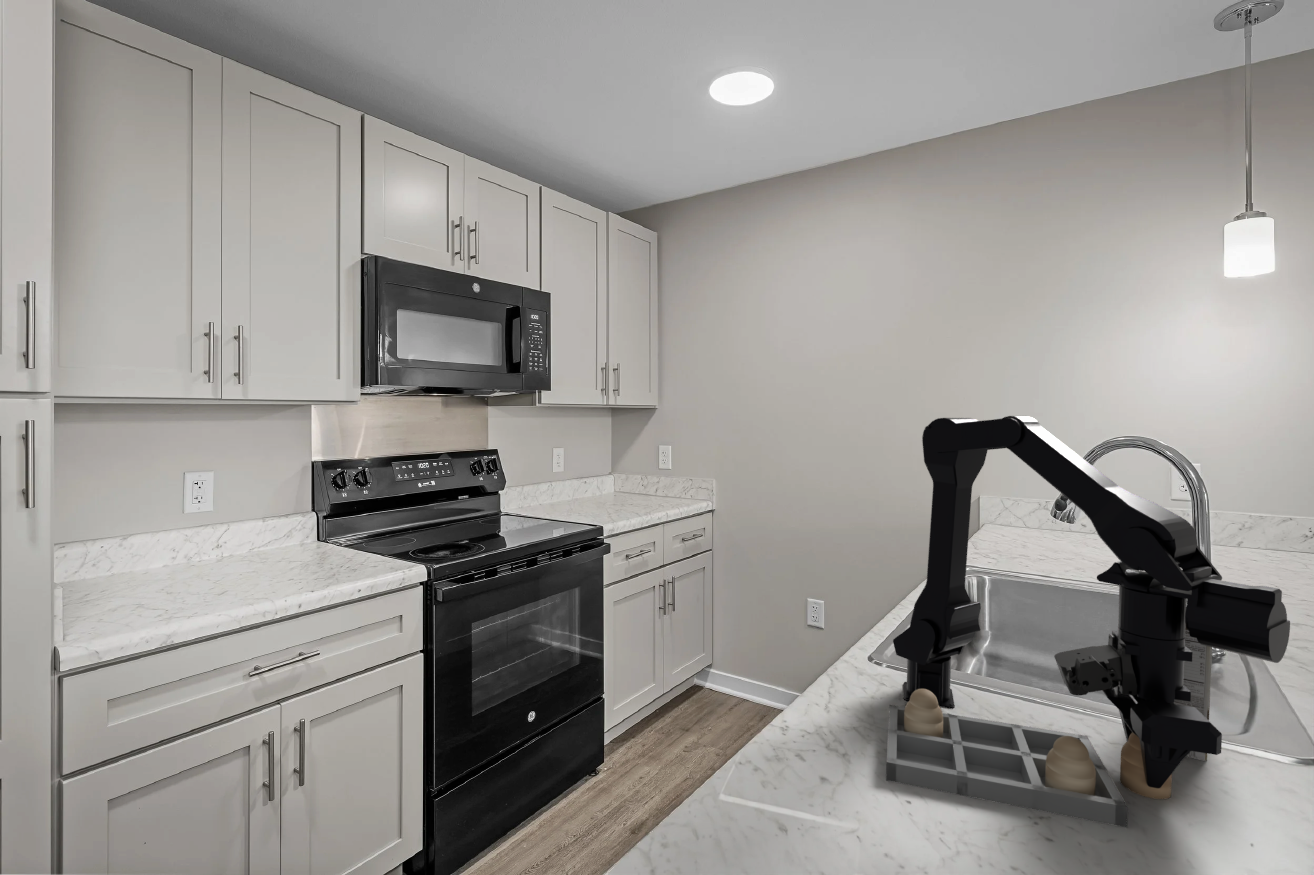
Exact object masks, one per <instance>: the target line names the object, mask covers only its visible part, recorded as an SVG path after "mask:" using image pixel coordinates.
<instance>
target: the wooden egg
mask: <svg viewBox="0 0 1314 875" xmlns="http://www.w3.org/2000/svg"><path fill="white" fill-rule="evenodd" d="M1119 765H1120V767H1119V770H1120V771H1119V782H1120V784H1121V785H1122V786H1123V787H1124V788H1125V789H1127V790H1128V791H1131V792H1132V793H1134V794H1136V795H1138V796H1141V797H1144V798H1148V799H1153V800H1167V799H1169V798H1171V797H1172V784H1173V783H1172V781H1173V780H1172V778H1173V773H1172V774H1171V775H1170V776H1169V778H1168V779H1167V780H1166V782H1165V783H1164V784H1163V785H1162V787H1161V788H1152V787H1149V786H1148V785H1147V783H1146V778H1145V773H1144V767H1143V760H1142V753H1141V746H1140V739H1139V737H1138V736H1137V735H1135V734H1134V733H1133V732H1132V733H1131V734H1130V736H1129V739H1128V741H1127V740H1126V742H1125V743H1124V744H1123V745H1122V747H1121V751H1120V764H1119Z"/></svg>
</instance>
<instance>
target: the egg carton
mask: <svg viewBox="0 0 1314 875" xmlns="http://www.w3.org/2000/svg"><path fill="white" fill-rule="evenodd" d="M905 707H906V706H900V705H894V704H889V707H888V724H887V725H888V726H887V727H888V728H887V744H886V745H887V746H886V747H887V748H886V764H885V766H886V769H885V770H886V772H885V773H886V774H885V778H886V779H885V780H886V782H891V783H898V784H901V785H907V786H911V787H919V788H922V789H928V790H933V791H939V792H943V793H948V794H952V795H958V796H963V797H969V798H973V799H979V800H984V801H989V802H994V803H999V804H1003V805H1008V806H1015V807H1020V808H1024V809H1029V810H1034V811H1035V810H1036V811H1039V812H1045V813H1051V814H1054V815H1060V816H1064V817H1070V818H1073V819H1074V818H1075V819H1080V820H1086V821H1090V822H1096V823H1099V824H1100V823H1101V824H1104V825H1105V824H1107V825H1110V826H1115V827H1121V828H1126V829H1127V828H1128V817H1129V815H1128V814H1129V807H1128V805H1127V803H1126V801H1125V800H1124V797H1123V795H1122V794H1121V792H1120V791H1119V789H1118V787H1117V786H1116V783H1115V781H1114V780H1113V778H1112V776H1111V774H1110V773H1109V771H1108V769H1107V768H1106V766H1105V765H1104V763H1103V760H1102V759H1101V757H1100V756H1099V754H1098V752H1097V750H1096V749H1095V747H1094V745H1093V744H1092V742H1091V740H1090V738H1089V736H1088V735H1085V734H1078V733H1071V732H1066V731H1061V730H1059V731H1058V730H1052V729H1048V728H1047V729H1046V728H1039V727H1036V726H1035V727H1033V726H1027V725H1022V724H1021V725H1019V724H1016V723H1015V724H1014V723H1009V722H1008V723H1007V722H1003V721H995V720H990V719H989V720H988V719H983V718H976V717H970V716H964V715H959V714H952V713H951V714H950V713H945V712H942V713H943V738H939V737H933V736H927V735H922V734H916V733H910V732H904V711H905ZM1062 736H1072V737H1075V738H1077V739H1079V740H1080V741H1081V742H1083V744H1084V745H1085V746H1086V747H1087V749H1088V752H1089V757H1090V759H1091V760H1092V762H1093V764H1094V766H1095V770H1096V783H1095V796H1093V795H1087V794H1082V793H1077V792H1071V791H1066V790H1060V789H1055V788H1049V787H1045V774H1046V757H1047V755H1048V753H1049V751H1050V750H1051V749H1052V748H1053V745H1054V743H1055V741H1056V740H1057V739H1058V738H1060V737H1062Z"/></svg>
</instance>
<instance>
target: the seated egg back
mask: <svg viewBox="0 0 1314 875" xmlns="http://www.w3.org/2000/svg"><path fill="white" fill-rule="evenodd" d="M904 707H905V711H904V732H910V733H916V734H922V735H927V736H933V737H939V738H943V713H944V712H943V711H942V707H939V705H938V701H937V698H936V696H935V695H934V694H933V693H932V692H931V691H929V690H927V689H917V690H915V691H914V692H913V693H912V695H911V697H910V701H909V702H906V704H905V706H904Z"/></svg>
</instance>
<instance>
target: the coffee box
mask: <svg viewBox="0 0 1314 875" xmlns="http://www.w3.org/2000/svg"><path fill="white" fill-rule="evenodd" d="M1185 646H1186V647H1187V648H1188V649H1189V650H1191V651H1192V652H1193V654H1192V662H1189V661H1184V680H1183V685H1184V686H1185V687H1186V688H1187V689H1188V690H1189V691H1191V702H1190V701H1182V700H1175V702H1173V703H1174V704H1175V705H1181V706H1188V707H1195V708H1196V709H1197V710H1198V711H1199V712H1200V713H1201V714H1202V715H1204V716H1205V717H1206V718H1207V719H1208V720H1209V721H1210V710H1211V707H1210V706H1211V686H1212V661H1213V658H1212V657H1213V647H1209V646H1205V645H1201V644H1200V643H1199V642H1198V640H1197V638H1194V637H1190V634H1189V631H1188V629H1187V627H1186V628H1185ZM1186 757H1187V758H1191V759H1195V760H1199V761H1203V762H1207V761H1208V754H1207V753H1201V752H1195V751H1191V752H1190V753H1189V754H1188V755H1187V756H1186Z"/></svg>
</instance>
